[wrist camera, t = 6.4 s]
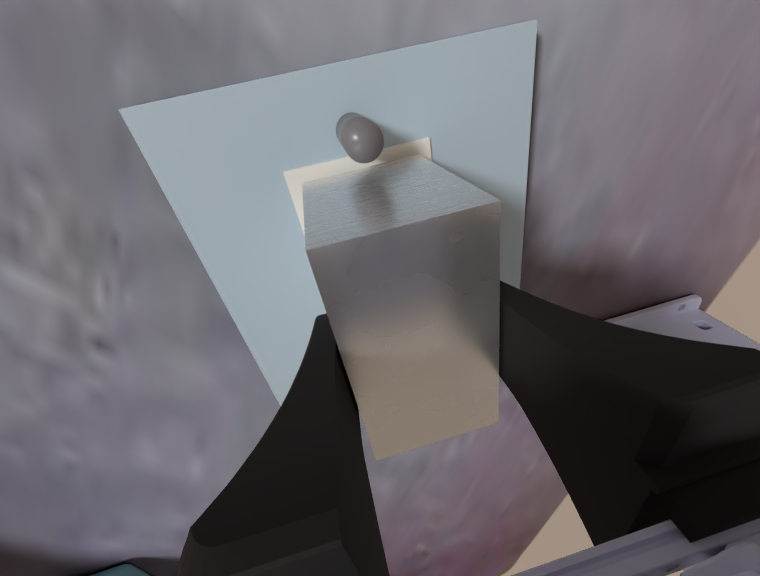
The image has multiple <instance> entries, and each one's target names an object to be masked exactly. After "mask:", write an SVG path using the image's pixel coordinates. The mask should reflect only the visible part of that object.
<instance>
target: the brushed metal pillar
mask: <svg viewBox="0 0 760 576" xmlns="http://www.w3.org/2000/svg"><path fill="white" fill-rule="evenodd" d="M302 190H303V210H304V229H305V248H306V253H307V256H308V259H309V262H310V265H311V268H312V271H313V274H314V277H315V280H316V283H317V286H318V289H319V292H320V295H321V298H322V301H323V304H324V307H325V310H326V313H327V316H328V319H329V322H330V325H331V328H332V331H333V334H334V336H335V339H336V342H337V345H338V348H339V351H340V354H341V357H342V360H343V363H344V366H345V369H346V372H347V375H348V378H349V381H350V384H351V387H352V390H353V393H354V396H355V399H356V402H357V405H358V408H359V411H360V414H361V417H362V419H363V422H364V425H365V428H366V431H367V434H368V437H369V440H370V443H371V446H372V449H373V452H374V455H375V458H376V461H377V460H381V459H384V458H387V457H390V456H393V455H397V454H400V453H403V452H406V451H409V450H412V449H416V448H419V447H422V446H425V445H428V444H432V443H435V442H438V441H441V440H444V439H447V438H451V437H454V436H457V435H460V434H463V433H467V432H470V431H473V430H476V429H479V428H483V427H486V426H489V425H492V424H495V423H498V422H499V324H500V226H501V200H499V199H497V198H496V197H494V196H492V195H490V194H488V193H487V192H485V191H483V190H481V189H480V188H478V187H476V186H474V185H472V184H471V183H469V182H467V181H465V180H463V179H462V178H460V177H458V176H456V175H455V174H453V173H451V172H449V171H447V170H446V169H444V168H442V167H440V166H439V165H437V164H435V163H433V162H431V161H430V160H428V159H426V158H424V157H423V156H421V155H419V154H418V155H414V156H410V157H406V158H402V159H398V160H394V161H390V162H385V163H381V164H377V165H373V166H369V167H365V168H361V169H356V170H352V171H348V172H344V173H340V174H336V175H332V176H328V177H323V178H319V179H315V180H311V181H307V182H303V183H302Z"/></svg>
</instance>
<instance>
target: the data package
mask: <svg viewBox="0 0 760 576" xmlns="http://www.w3.org/2000/svg"><path fill="white" fill-rule="evenodd" d="M90 576H151V575H149V574H147V573H146V572H144V571H142V570H140V569H139V568H137V567H135V566H133V565H131V564H123V565H120V566H117V567H114V568H111V569H108V570H105V571H102V572H99V573H96V574H93V575H90Z"/></svg>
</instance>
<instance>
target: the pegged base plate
mask: <svg viewBox="0 0 760 576" xmlns="http://www.w3.org/2000/svg"><path fill="white" fill-rule="evenodd" d="M536 35H537V19H535V20H531V21H526V22H521V23H517V24H512V25H508V26H503V27H498V28H494V29H489V30H484V31H480V32H475V33H470V34H466V35H461V36H457V37H452V38H447V39H443V40H438V41H433V42H429V43H424V44H419V45H415V46H410V47H405V48H401V49H396V50H392V51H387V52H382V53H378V54H373V55H368V56H364V57H359V58H354V59H350V60H345V61H341V62H336V63H331V64H327V65H322V66H317V67H313V68H308V69H303V70H299V71H294V72H290V73H285V74H280V75H276V76H271V77H266V78H262V79H257V80H252V81H248V82H243V83H238V84H234V85H229V86H225V87H220V88H215V89H211V90H206V91H201V92H197V93H192V94H187V95H183V96H178V97H174V98H169V99H164V100H160V101H155V102H150V103H146V104H141V105H136V106H132V107H127V108H123V109H118V110H119V111H120V113H121V115H122V117H123V119H124V121H125V122H126V124H127V126H128V128H129V130H130V132H131V133H132V135H133V137H134V139H135V141H136V143H137V144H138V146H139V148H140V150H141V152H142V154H143V155H144V157H145V159H146V161H147V163H148V164H149V166H150V168H151V170H152V172H153V174H154V175H155V177H156V179H157V181H158V183H159V185H160V186H161V188H162V190H163V192H164V194H165V196H166V197H167V199H168V201H169V203H170V205H171V207H172V208H173V210H174V212H175V214H176V216H177V218H178V219H179V221H180V223H181V225H182V227H183V229H184V230H185V232H186V234H187V236H188V238H189V239H190V241H191V243H192V245H193V247H194V249H195V250H196V252H197V254H198V256H199V258H200V260H201V261H202V263H203V265H204V267H205V269H206V271H207V272H208V274H209V276H210V278H211V280H212V282H213V283H214V285H215V287H216V289H217V291H218V293H219V294H220V296H221V298H222V300H223V302H224V304H225V305H226V307H227V309H228V311H229V313H230V314H231V316H232V318H233V320H234V322H235V324H236V325H237V327H238V329H239V331H240V333H241V335H242V336H243V338H244V340H245V342H246V344H247V346H248V347H249V349H250V351H251V353H252V355H253V357H254V358H255V360H256V362H257V364H258V366H259V368H260V369H261V371H262V373H263V375H264V377H265V379H266V380H267V382H268V384H269V386H270V388H271V390H272V391H273V393H274V395H275V397H276V399H277V400H278V402H279V404H280V406H281V405H282V403H283V401H284V399H285V398H286V396H287V394H288V392H289V390H290V388H291V385H292V383H293V381H294V379H295V376H296V374H297V372H298V370H299V367H300V365H301V362H302V360H303V357H304V354H305V352H306V349H307V346H308V343H309V340H310V337H311V333H312V330H313V326H314V321H315V319H316V317H317V316H318V315H322V314H326V310H325V307H324V304H323V301H322V298H321V295H320V292H319V289H318V286H317V283H316V280H315V277H314V274H313V271H312V268H311V265H310V262H309V259H308V256H307V253H306V248H305V229H304V210H303V190H302V183H303V182H307V181H311V180H315V179H319V178H323V177H328V176H332V175H336V174H340V173H344V172H348V171H352V170H356V169H361V168H365V167H369V166H373V165H377V164H381V163H385V162H390V161H394V160H398V159H402V158H406V157H410V156H414V155H418V154H419V155H421V156H423V157H424V158H426V159H428V160H430V161H431V162H433V163H435V164H437V165H439V166H440V167H442V168H444V169H446V170H447V171H449V172H451V173H453V174H455V175H456V176H458V177H460V178H462V179H463V180H465V181H467V182H469V183H471V184H472V185H474V186H476V187H478V188H480V189H481V190H483V191H485V192H487V193H488V194H490V195H492V196H494V197H496V198H497V199H499V200H501V226H500V280H501V281H503V282H505V283H507V284H509V285H511V286H513V287H515V288H518V289H520V279H521V264H522V249H523V233H524V218H525V203H526V187H527V172H528V157H529V142H530V126H531V111H532V96H533V80H534V65H535V50H536Z"/></svg>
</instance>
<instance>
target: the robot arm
mask: <svg viewBox="0 0 760 576" xmlns="http://www.w3.org/2000/svg"><path fill="white" fill-rule="evenodd" d="M701 302H702V298H701V297H699V296H698V295H695V294H694V295H690V296H686V297H683V298H680V299H676V300H673V301H669V302H666V303H663V304H659V305H656V306H653V307H649V308H646V309H642V310H639V311H636V312H632V313H629V314H625V315H622V316H619V317H615V318H612V319H608V320H605V321H602V320H599V319H596V318H593V317H589V316H586V315H583V314H580V313H577V312H574V311H571V310H568V309H565V308H563V307H560V306H558V305H555V304H553V303H550V302H547V301H545V300H543V299H540V298H538V297H535V296H533V295H531V294H529V293H526V292H524V291H522V290H520V289H518V288H515V287H513V286H511V285H509V284H507V283H505V282H503V281H501V280H500V324H499V376H500V377H501V378H502V380H503V381H504V383H505V384H506V385H507V387H508V388H509V389H510V391H511V392H512V394H513V395H514V396H515V398H516V400H517V401H518V403H519V404H520V406H521V407H522V409H523V411H524V412H525V414H526V416H527V417H528V419H529V421H530V423H531V424H532V426H533V428H534V430H535V431H536V433H537V435H538V437H539V439H540V440H541V442H542V444H543V446H544V448H545V450H546V451H547V453H548V455H549V457H550V459H551V460H552V462H553V464H554V466H555V468H556V470H557V472H558V474H559V476H560V478H561V480H562V482H563V484H564V485H565V487H566V489H567V491H568V493H569V495H570V497H571V499H572V501H573V503H574V505H575V507H576V509H577V511H578V513H579V516H580V518H581V519H582V521H583V524H584V526H585V528H586V530H587V532H588V534H589V536H590V538H591V540H592V543H593V545H594V547H591V548H588V549H585V550H583V551H580V552H577V553H574V554H571V555H568V556H566V557H563V558H560V559H557V560H554V561H551V562H549V563H546V564H543V565H540V566H537V567H534V568H532V569H529V570H526V571H523V572H520V573H517V574H515V575H512V576H666V575H669V574H671V573H674V572H677V571H680V570H682V569H683V570H684V572H682V573H681V574H680V576H760V344H759V343H757V342H755V341H753V340H752V339H750V338H748V337H746V336H745V335H743V334H741V333H740V332H738V331H736V330H734V329H733V328H731V327H729V326H727V325H726V324H724V323H722V322H721V321H719V320H717V319H715V318H714V317H712V316H710V315H708V314H707V313H705V312H703V311H702V310H700V309H698V308H699V306H700V304H701ZM176 576H389V572H388V567H387V563H386V558H385V553H384V549H383V544H382V540H381V535H380V530H379V526H378V521H377V516H376V512H375V507H374V502H373V497H372V493H371V488H370V483H369V478H368V473H367V468H366V463H365V459H364V453H363V446H362V438H361V429H360V420H359V411H358V405H357V402H356V399H355V396H354V393H353V390H352V387H351V384H350V381H349V378H348V375H347V372H346V369H345V366H344V363H343V360H342V357H341V354H340V351H339V348H338V345H337V342H336V339H335V336H334V334H333V331H332V328H331V325H330V322H329V319H328V316H327V313H326V314H322V315H318V316H317V317H316V319H315V321H314V326H313V330H312V333H311V337H310V340H309V343H308V346H307V349H306V352H305V354H304V357H303V360H302V362H301V365H300V367H299V370H298V372H297V374H296V376H295V379H294V381H293V383H292V385H291V388H290V390H289V392H288V394H287V396H286V398H285V399H284V401H283V403H282V405H281V407H280V409H279V410H278V412H277V414H276V416H275V417H274V419H273V421H272V422H271V424H270V425H269V427H268V429H267V430H266V432H265V434H264V435H263V437H262V438H261V440H260V441H259V443H258V444H257V446H256V447H255V449H254V450H253V451H252V453H251V454H250V455H249V457H248V458H247V459H246V461H245V462H244V464H243V465H242V466H241V468H240V469H239V470H238V472H237V473H236V474H235V476H234V477H233V478H232V480H231V481H230V482H229V483H228V485H227V486H226V487H225V488H224V489H223V491H222V492H221V493H220V494H219V495H218V496H217V498H216V499H215V500H214V501H213V502H212V503H211V505H210V506H209V507H208V508H207V509H206V510H205V512H204V513H203V514H202V515H201V516H200V517H199V518H198V520H197V521H196V522H195V523H194V524H193V525H192V526H191V527H190V530H189V533H188V537H187V540H186V542H185V545H184V548H183V551H182V555H181V558H180V562H179V566H178V570H177V574H176Z"/></svg>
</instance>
